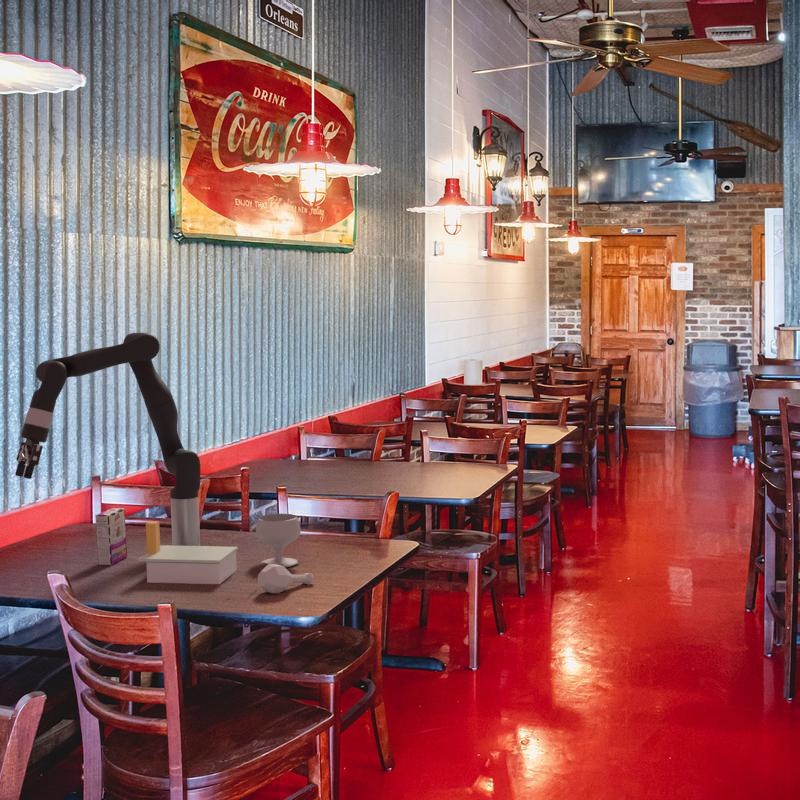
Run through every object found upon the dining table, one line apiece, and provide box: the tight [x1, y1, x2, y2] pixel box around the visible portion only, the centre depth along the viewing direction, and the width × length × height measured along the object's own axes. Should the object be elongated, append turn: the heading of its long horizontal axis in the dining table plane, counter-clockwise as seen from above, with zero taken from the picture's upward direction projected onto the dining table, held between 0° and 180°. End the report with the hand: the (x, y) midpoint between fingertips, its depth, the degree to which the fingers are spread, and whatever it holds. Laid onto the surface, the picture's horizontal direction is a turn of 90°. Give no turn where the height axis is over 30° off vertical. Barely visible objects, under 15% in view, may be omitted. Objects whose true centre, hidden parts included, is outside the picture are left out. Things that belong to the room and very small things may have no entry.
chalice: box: [255, 513, 302, 568], centre depth 324 cm, size 14×14×15 cm
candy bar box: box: [94, 507, 128, 566], centre depth 332 cm, size 11×5×16 cm, turn 168°
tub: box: [146, 551, 238, 585], centre depth 308 cm, size 16×22×7 cm
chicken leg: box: [257, 564, 315, 594], centre depth 296 cm, size 8×18×8 cm, turn 135°
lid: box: [137, 520, 239, 563], centre depth 308 cm, size 17×25×10 cm
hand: (22, 477), depth 311 cm, fingers open, 8 cm apart
